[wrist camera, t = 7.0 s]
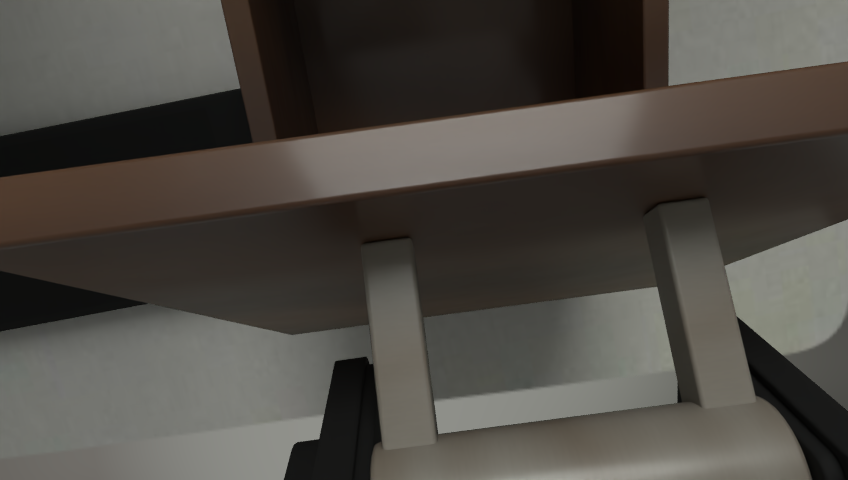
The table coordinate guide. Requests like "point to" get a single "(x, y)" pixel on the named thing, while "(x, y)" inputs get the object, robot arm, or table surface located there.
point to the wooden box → (434, 57)
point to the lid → (482, 252)
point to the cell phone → (103, 143)
